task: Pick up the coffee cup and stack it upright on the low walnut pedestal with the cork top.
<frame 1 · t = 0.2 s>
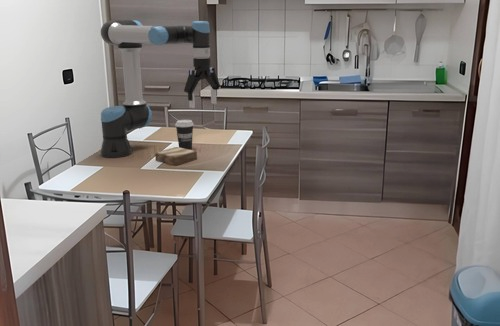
hand: (203, 105, 220), 28 cm above the table, fingers open, 13 cm apart
pedestal: (176, 159, 236), on the table
coffee cup: (185, 149, 254), on the table
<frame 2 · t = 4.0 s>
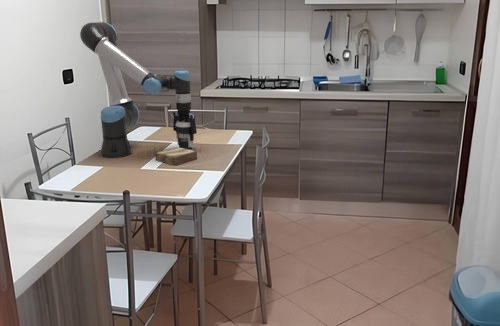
hand: (185, 145, 254), 2 cm above the table, fingers closed on coffee cup, 7 cm apart
coffee cup: (185, 149, 254), on the table, touching gripper
when the fingers open (7 cm above the table, at t = 9.3 s): coffee cup stays where it is, resting on pedestal.
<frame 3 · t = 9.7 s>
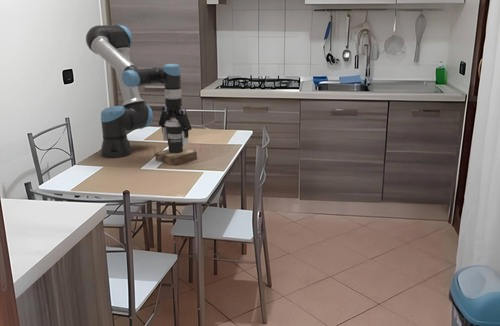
hand: (175, 142, 234), 9 cm above the table, fingers open, 13 cm apart
coffee cup: (175, 151, 235), point 4 cm above the table, touching pedestal
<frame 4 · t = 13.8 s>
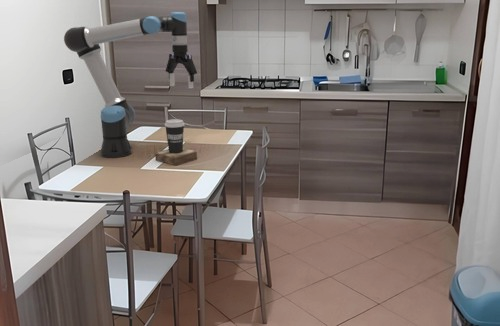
hand: (181, 87, 250), 32 cm above the table, fingers open, 13 cm apart
nothing on the table moved.
at the end: coffee cup 0.1 cm from the pedestal (horizontally); coffee cup point 3.8 cm above the table; coffee cup tilted 0° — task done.
